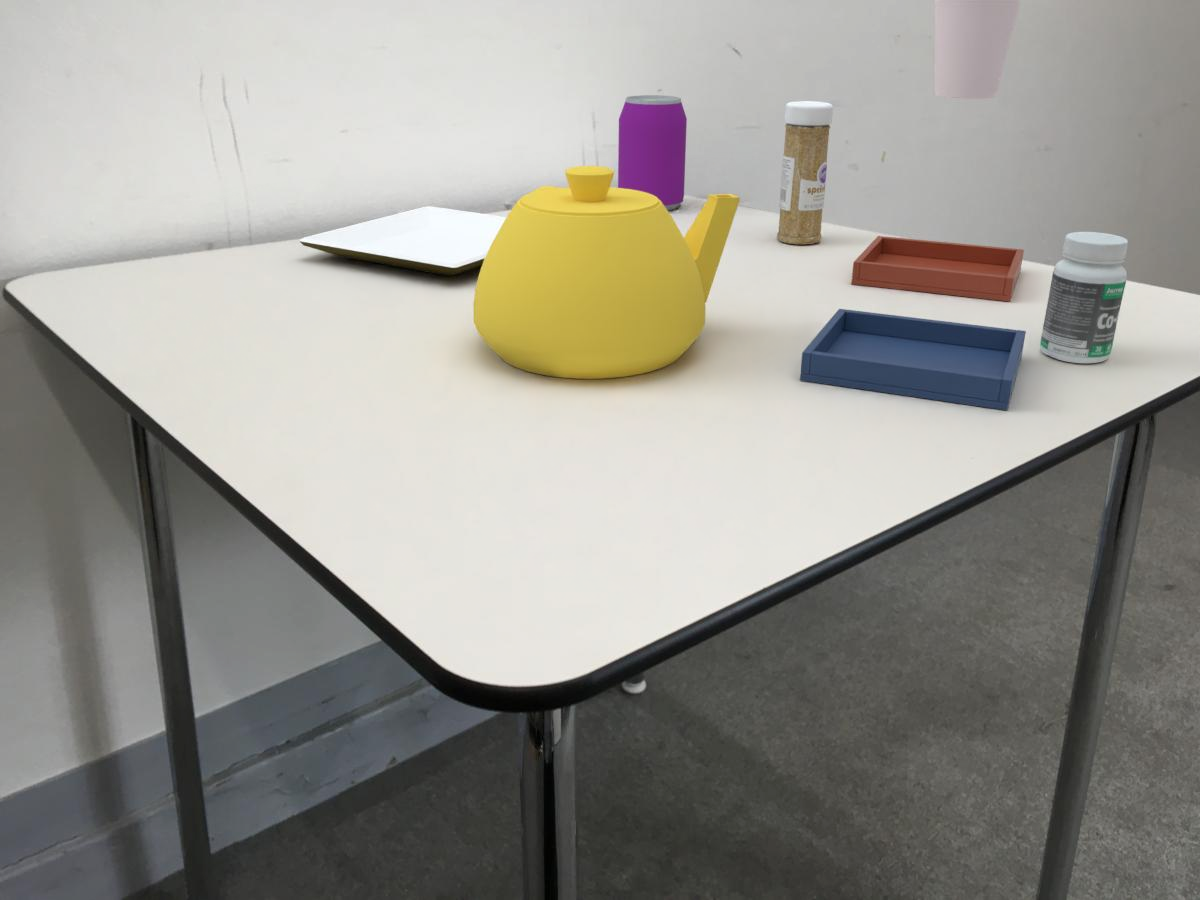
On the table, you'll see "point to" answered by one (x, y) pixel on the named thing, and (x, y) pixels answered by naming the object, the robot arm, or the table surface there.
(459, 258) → the plate
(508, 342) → the teapot
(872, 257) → the terracotta tray
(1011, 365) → the blue tray
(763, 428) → the table surface
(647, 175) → the beverage can
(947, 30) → the smoothie
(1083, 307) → the pill bottle
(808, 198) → the sprinkles bottle
